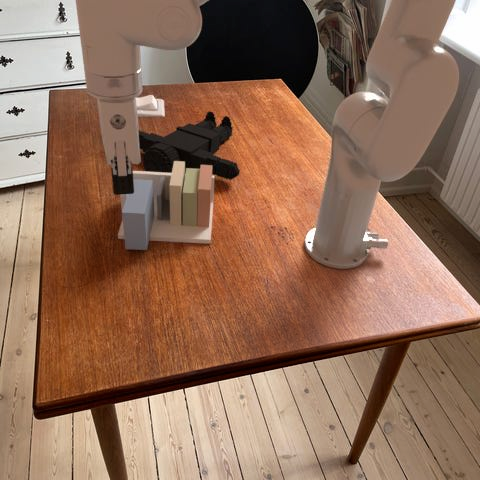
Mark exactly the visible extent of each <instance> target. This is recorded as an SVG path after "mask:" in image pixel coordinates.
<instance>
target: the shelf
mask: <svg viewBox="0 0 480 480" xmlns="http://www.w3.org/2000/svg"><path fill="white" fill-rule="evenodd" d="M132 171H133V179H140V180H153V197H154V220H153V224H152V229H151V234H150V238H149V242H151V241H154V242H155V241H156V242H170V243H189V244H192V243H193V244H206V245H207V244H211V242H212V228H213V227H212V225H213V214H214V213H213V211H214V198H215V197H214V195H215V194H214V193H215V175H214V174H212V165H201V166H200V169H194V168H185V162H183V161H174V164H173V169H172V173H164V172H147V171H145V170H144V171H143V170H132ZM119 197H120V208H121V209H120V210H121V212H122V211H123V207H124V204H125V201H126V197H127V194H123V195H119ZM121 219H122V220H121V223H120V226H119V229H118V233H117V238H118V240H125V238H124V228H123V218H122V217H121Z"/></svg>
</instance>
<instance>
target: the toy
mask: <svg viewBox="0 0 480 480" xmlns="http://www.w3.org/2000/svg"><path fill="white" fill-rule="evenodd" d="M215 116H216V115H215V113H214V112H213V111H211V110H209V111H207V113H206V115H205V118H203V120H201V121H200V122H197V123H195V124H193V123H190V122H189V123H187V124H184V125H183V126H180V125H178V126H176V128H175V130H174V131H172V132H170V133H168V134H166V135H165V136H162V135H160V134H156V133H154V132H151V133H148V132H146V131H141V130H140V129H139V144H140V150H142V153H143V157H142V159H143V160H142V162H143V163H142V165H143V168H144V171H147V172H164V173H172V169H173V164H174V161H183V162H185V169H186V168H194V169H200V166H201V165H212V175H216V177H220V178H223V179H225V180H229V181H232V180H234V178H237V177H238V176H239V175H240V171H241V169H239V167H238V166H239V165H238V164H237V162H234V161H232V160H229V159H226V158H222V157H221V156H217V155H215V154H214V153H217V152H218V151H220V144H222V143H223V142H225V141H226V140H228V139H229V138H231V137H233V136H232V135H233V126H232V124H233V123H232V121H231V120H232V119H231V118H230V116H227V115H225V116H223V117H222V119H221V123H219V124H218V125H217V121H216V119H217V118H216V117H215Z"/></svg>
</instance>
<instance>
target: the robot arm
mask: <svg viewBox="0 0 480 480" xmlns="http://www.w3.org/2000/svg"><path fill="white" fill-rule="evenodd" d="M456 1H457V0H391V1H390V3H389V7H388V9H387V12H386V14H385V16H384V19H383V20H382V23H381V25H380V27H379V30H378V32H377V35H376V37H375V39H374V41H373V42H372V45H371V46H372V47H371V48H370V51H369V53H368V56H367V59H366V62H365V72H366V75H367V77H368V79H369V81H370V82H371V84H373V85H374V86H375V87H376V88H377V90H378V91H380V93H382V95H384V96H385V97H386V98H387V99H388V101H387V100H386V99H385V98H384V97H383V96H381V95H379V94H377V93H374V92H371V91H358V92H355V93H352V94H351V95H348V96H347V97H346V98H345V99H343V100H342V101H341V103H340V104H339V105H338V107H337V109H336V111H335V114H334V117H333V121H332V126H331V142H330V143H331V145H330V147H331V148H330V158H329V162H328V163H329V164H328V168H327V174H326V177H325V183H324V187H323V191H322V196H321V201H320V206H319V210H318V215H317V219H316V225H315V227H314V228H312V229H311V230H309V231H308V232H307V233H306V236H305V240H304V248H305V250H306V252H307V254H308V255H309V256H310V257H311V258H312V259H313V260H315V261H316V262H318V263H320V264H321V265H324V266H326V267H329V268H331V269H332V268H333V269H340V270H345V269H346V270H348V269H354V268H356V267H359V266H361V265H363V264H364V263H365V262H366V260H367V258H368V255H369V250H371V249H373V248H376V249H388V247H389V246H388V245H389V241H388V239H387V238H379V232H378V231H367V230H368V226H369V223H370V219H371V217H372V212H373V211H374V210H373V209H374V207H375V203H376V199H377V195H378V193H379V189H380V187H381V182H389V183H390V182H394V181H398V180H400V179H402V178H404V177H405V176H406V175H408V174H409V173H410V172H412V170H413V169H414V168H415V167H417V164H418V163H419V162H420V161H421V159H422V157H423V156H424V154H425V152H426V150H427V149H428V147H429V145H430V144H431V142H432V141H433V138H434V136H435V135H436V133H437V131H438V129H439V128H440V125H441V124H442V122H443V120H444V119H445V116H446V115H447V113H448V111H449V110H450V108H451V106H452V103H453V102H454V100H455V97H456V95H457V92H458V87H459V84H460V70H459V65H458V63H457V61H456V59H455V57H454V56H452V54H451V53H450V52H448V51H447V50H446V49H444V48H443V47H441V46H439V45H438V44H439V41H440V38H441V35H442V33H443V32H444V29H445V27H446V25H447V22H448V20H449V17H450V16H451V13H452V11H453V9H454V6H455V4H456ZM207 2H209V0H75V6H76V14H77V21H78V30H79V39H80V46H81V53H82V55H81V56H82V62H83V63H82V64H83V70H84V78H85V88H86V92H87V94H88V95H89V96H91V98H94V99H96V102H97V109H98V110H97V111H98V118H99V119H98V120H99V127H100V133H101V139H102V142H103V143H102V144H103V149H104V154H105V158H106V163H107V165H109V166H110V167H112V168H110V169H111V170H110V171H111V180H112V192H113V195H115V196H120V195H123V194H133V193H134V182H133V171H134V170H133V166H132V164H133V165H139V164H140V163H141V162H142V160H141V149H140V144H139V130H140V129H139V119H138V118H139V117H138V115H137V105H136V97H137V98H138V97H140V95H141V94H142V93H143V77H142V75H143V74H142V60H141V59H142V57H141V47H147V48H152V49H157V50H158V49H159V50H163V51H165V50H166V51H178V50H179V51H180V50H183V49H186V48H187V47H190V46H191V45H192V44H194V43H195V42H196V40H197V39H198V37H199V36H200V34H201V32H202V27H203V15H202V12H201V8H200V6H202V5H204V4H205V3H207Z"/></svg>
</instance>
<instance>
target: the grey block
mask: <svg viewBox="0 0 480 480" xmlns="http://www.w3.org/2000/svg"><path fill="white" fill-rule="evenodd" d="M133 182H134V193H133V194H127V197H126V201H125V204H124V207H123V211H122V210H121V219H122V218H123V219H122V220H123V228H124V238H125V239H124V248H125V250H135V251H137V250H139V251H148V246H149V242H150V241H149V238H150V234H151V229H152V224H153V220H154V197H153V180H140V179H133Z"/></svg>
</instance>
